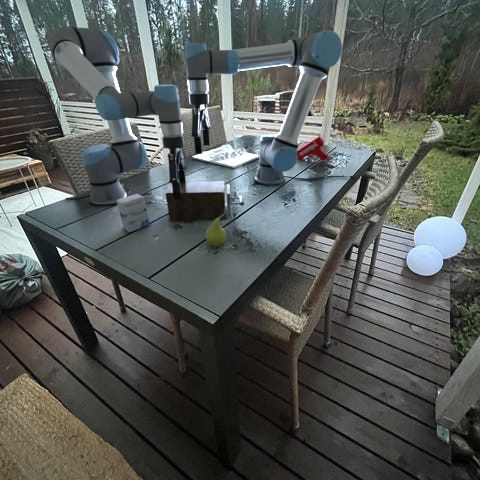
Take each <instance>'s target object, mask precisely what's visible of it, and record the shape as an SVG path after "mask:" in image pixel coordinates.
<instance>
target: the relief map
mask: <svg viewBox="0 0 480 480" xmlns="http://www.w3.org/2000/svg"><path fill="white" fill-rule="evenodd" d="M192 159H194V160H197V161H202V162H206V163H211V164H216V165H218V166H223V167H228V168H232V169H235V168H238V167H241V166H243V165H245V164H248V163H250V162H252V161H255V160H257V159H259V154H257V153H256V154H255V153H250V152H248V150H246V148H244V147H241V148H239V149H238V150H237V149H235V148H233V147H232V145H230V144H226V143H224V144H223V145H221V146H219V147H216V148H214V149H210V150H208V151H202V154H196V155H193V156H192Z"/></svg>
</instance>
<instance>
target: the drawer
mask: <svg viewBox="0 0 480 480" xmlns="http://www.w3.org/2000/svg"><path fill="white" fill-rule="evenodd" d="M230 185H231V184H230V183H227V184H226V214H227V218H229V217H231V206H232V205H233V206H234V205H240V207H243V206H245V200H244V195H242V194H241V195H239V196H231V186H230ZM231 200H239V201H238V202H231Z"/></svg>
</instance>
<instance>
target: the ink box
mask: <svg viewBox="0 0 480 480" xmlns="http://www.w3.org/2000/svg"><path fill="white" fill-rule="evenodd" d="M116 201H117V204H116V205H117V208H118V212H119V216H120V219H121V222H122V223H121V224H122V226H123V228H124V230H126V232H128V233H132V232H134V231H137V230H140V229H142V228H145V227H148V226H149V225H150V224H151V223H150V219H149V215H148V210H147V205H146V201H145V197H144V196H142V195H141V194H140V193H135V194H132V195H129V196H128V195H127V197H125V198H122V199H118V200H116Z"/></svg>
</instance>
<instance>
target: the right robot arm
mask: <svg viewBox="0 0 480 480" xmlns="http://www.w3.org/2000/svg"><path fill="white" fill-rule="evenodd" d="M342 52H343V43H342V40H341V37H340V36H339V34H338V33H337V32H336V31H334V30H328V29H327V30H326V29H324V30H323V29H322V30H320V31H319V32H313V33H309V34H307V35H303V36H301V37H298V38H292V39H288V40H287V41H286V42H285V43H277V44H268V45H260V46H252V47H245V48H235V49H213V50H212V49H207V47H206V44H205V43H203V42H188V43H186V44H185V45H184V57H185V58H184V60H185V68H186V78H187V82H186V86H188V87H187V89H188V92H189V93H188V99H189V104H190V105H193V106H194V108H192V109H191V134H190V135H191V136H190V137H192V138H193V142H194V143H193V144H194V154H196V155H199V154H202V153H203V146H206V147H207V146H211V141H210V130H211V129H212V127H211V124H210V119H209V118H210V117H209V112H208V104H209V103H210V96H209V93H208V92H209V80H208V75H229V76H230V75H236V74H238V72H240V71H248V70H256V69H262V68H270V67H280V66H288V67H289V68H291V67H292V68H293V67H299V70H300V76H299V78H298V81H297V83H296V87H295V89H294V92H293V94H292V98H291V101H290V103H289V106H288V109H287V111H286V114H285V117H284V120H283V123H282V125H281V128H280V131H279V132H278V133H277V134H263V135H261V136H260V138H259V153H258V155H259V158H258V167H257V171H256V174H255V177H254V181H255V183H258V184H259V185H262V186H263V185H264V186H279V185H281V184H283V183H284V181H285V178H286V179H287V178H288V179H294V180H300V181H301V180H302V181H312V180H313V181H314V180H319V179H324V178H346V177H347V176H344V175H324V176H318V177H311V178H305V177H304V178H303V177H294V176H289V175H287V176H286V175H284V172H288V171H290V170H292V169H293V168H294V167H295V166H296V164H297V163H298V161H299V160H298V155H297V150H298V149H299V146H300V142H299V138H300V135H301V132H302V130H303V128H304V125H305V122H306V119H307V117H308V114H309V112H310V109H311V107H312V105H313V102H314V99H315V97H316V95H317V92H318V89H319V87H320V84H321V82H322V80H323V79H325V78H327V77H328V75H329V72H330V69H331V68H332V67H334V66H335V65H336V64H337V63H338V62H339V61H340V58H341V55H342V54H343V53H342ZM201 131H202V136H201ZM202 142H203V143H202ZM348 177H349V178H351V179H354V176H352V175H351V176H348Z"/></svg>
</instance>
